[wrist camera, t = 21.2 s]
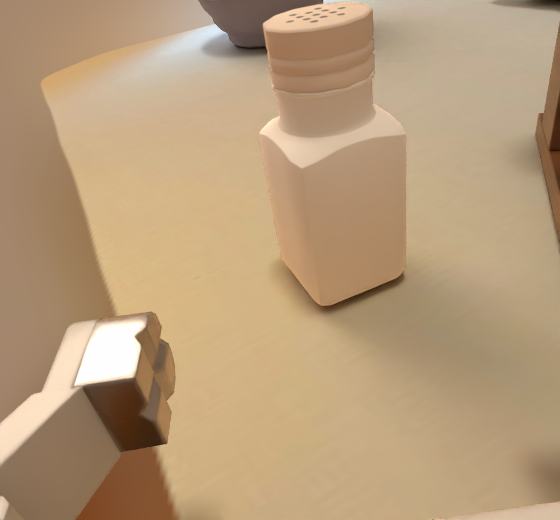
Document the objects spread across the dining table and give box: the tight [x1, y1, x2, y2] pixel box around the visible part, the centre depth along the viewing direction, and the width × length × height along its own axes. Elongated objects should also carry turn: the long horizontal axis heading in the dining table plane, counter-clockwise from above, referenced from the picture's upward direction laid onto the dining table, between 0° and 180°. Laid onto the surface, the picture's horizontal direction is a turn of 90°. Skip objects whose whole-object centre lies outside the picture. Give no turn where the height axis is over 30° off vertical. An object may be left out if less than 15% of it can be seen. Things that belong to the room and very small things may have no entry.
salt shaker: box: [258, 2, 406, 306], centre depth 17 cm, size 4×4×10 cm
